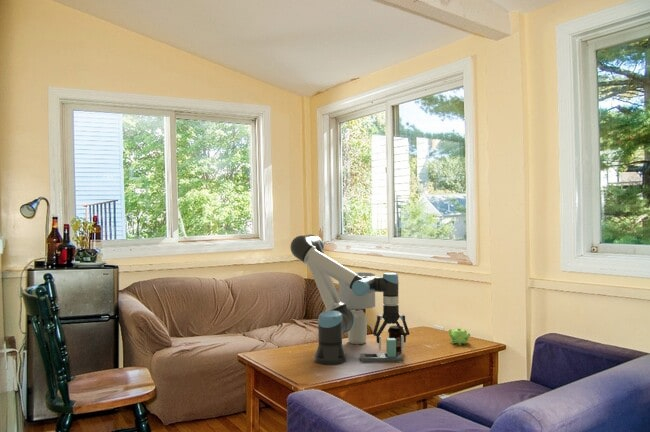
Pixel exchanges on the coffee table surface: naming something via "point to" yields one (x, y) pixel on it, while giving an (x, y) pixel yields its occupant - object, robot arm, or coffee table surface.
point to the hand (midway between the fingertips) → (391, 349)
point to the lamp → (357, 310)
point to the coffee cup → (396, 336)
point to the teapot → (459, 336)
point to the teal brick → (391, 347)
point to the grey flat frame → (380, 357)
